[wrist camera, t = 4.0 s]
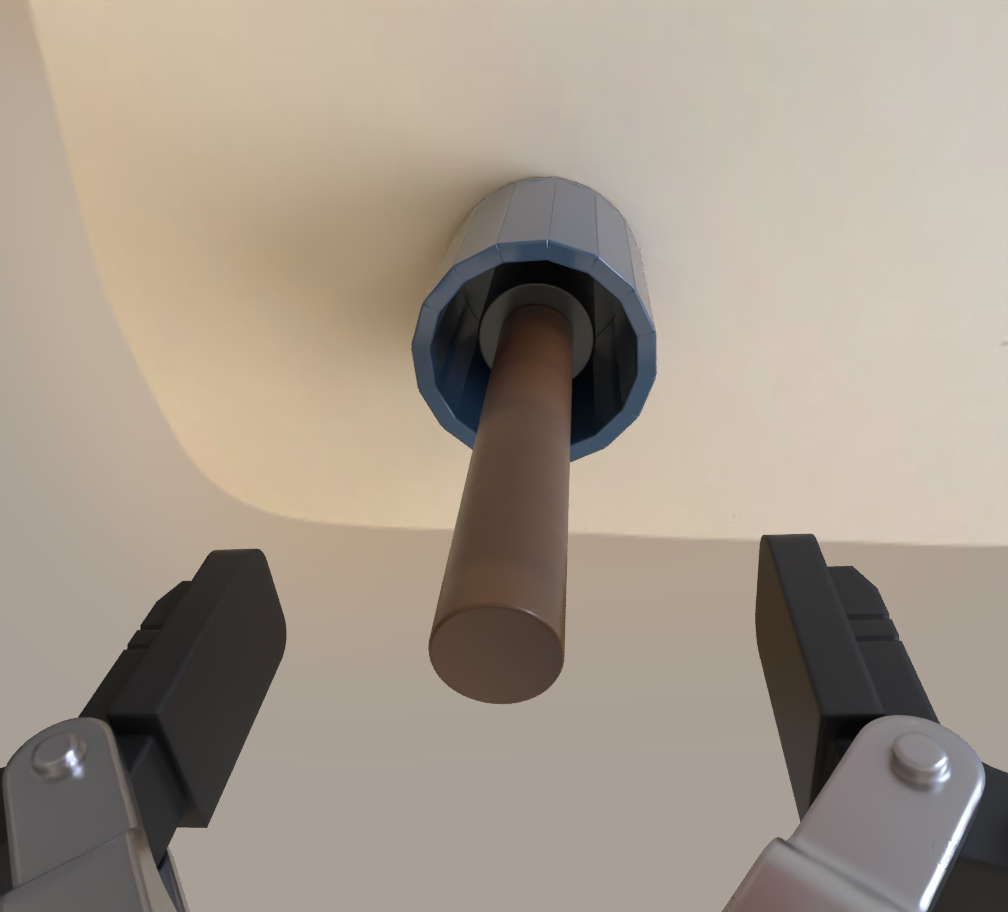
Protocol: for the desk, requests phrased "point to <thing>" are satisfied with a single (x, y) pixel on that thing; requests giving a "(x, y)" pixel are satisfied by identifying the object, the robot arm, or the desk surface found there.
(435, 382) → the brush cup
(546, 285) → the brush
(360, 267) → the desk surface
